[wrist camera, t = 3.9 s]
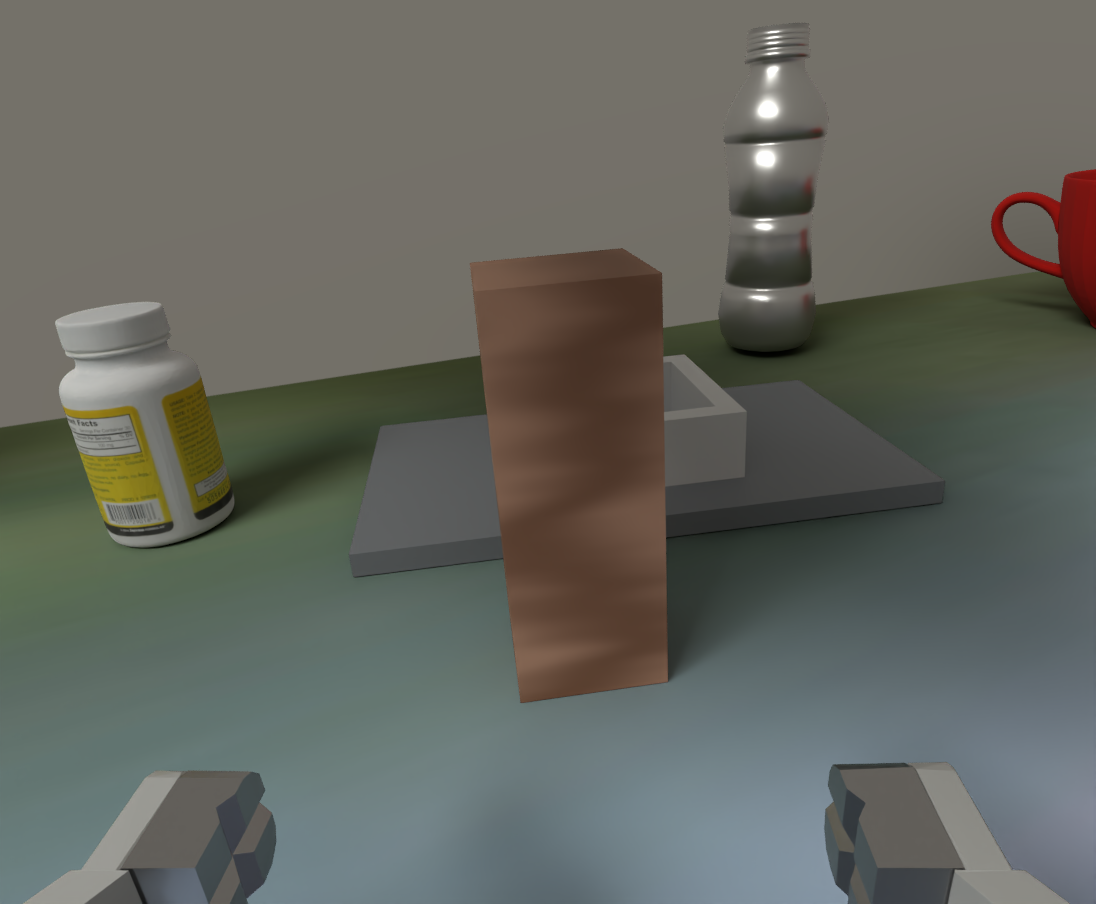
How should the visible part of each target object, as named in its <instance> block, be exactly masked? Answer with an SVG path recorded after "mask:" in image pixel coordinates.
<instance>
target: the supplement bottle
mask: <svg viewBox="0 0 1096 904" xmlns="http://www.w3.org/2000/svg"><path fill="white" fill-rule="evenodd" d="M55 324H56V328H57V331H58V334H59V337H60V341H61V344H62V347H63V349H64V350H66V352H65V354H66V355H67V356H68V357H71V358H74V360H75V364H76V367H75V369H73V370H71V371H70V372H69V373H67V374H66V375H65V377H64V378H63V379H62V381H61V383H60V386H59V395H60V399H61V402H62V405H63V408H64V411H65V414H66V417H67V419H68V422H69V425H70V428H71V431H72V433H73V436H74V439H75V442H76V445H77V447H78V450H79V453H80V456H81V459H82V462H83V464H84V467H85V470H86V473H87V475H88V478H89V481H90V484H91V487H92V489H93V492H94V495H95V498H96V501H97V503H98V506H99V509H100V512H101V515H102V517H103V520H104V523H105V525H106V528H107V530H108V532H109V534H110V536H111V537H112V538H113V540H115V541H116V542H117V543H119V544H122V545H125V546H129V547H141V548H144V547H157V546H163V545H167V544H172V543H175V542H179V541H182V540H185V539H188V538H191V537H194V536H196V535H199V534H201V533H203V532H205V531H207V530H209V529H211V528H213V527H215V526H216V525H218V524H219V523H221V522H222V521H223V520H224V519H226V518H227V517H228V516H229V514H230V513H231V511H232V510H233V507H234V495H233V491H232V487H231V483H230V480H229V476H228V473H227V469H226V466H225V463H224V459H223V456H222V452H221V448H220V445H219V441H218V437H217V434H216V430H215V426H214V423H213V419H212V415H211V412H210V408H209V405H208V402H207V398H206V394H205V390H204V386H203V383H202V379H201V376H200V373H199V370H198V367H197V365H196V363H195V362H194V361H193V360H192V359H191V358H190V357H189V356H187V355H186V354H183V353H181V352H178V351H174V350H170V349H169V347H168V345H167V340H168V339H169V338H170V336H171V334H170V333H169V331H170V327H169V324H168V321H167V318H166V315H165V312H164V308H163V306H162V305H161V304H160V303H156V302H135V303H125V304H118V305H111V306H104V307H98V308H93V309H89V310H84V311H80V312H76V313H72V314H69V315H66V316H64V317H61V318H59V319H58V320H57V321H56V323H55Z"/></svg>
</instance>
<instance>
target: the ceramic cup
mask: <svg viewBox="0 0 1096 904" xmlns="http://www.w3.org/2000/svg"><path fill="white" fill-rule="evenodd" d="M1017 203H1033V204H1036V205H1038V206H1040V207H1042V208H1043V209H1044V210H1046V211H1047V212H1048V214H1049V215H1050V216H1051V218H1052V220H1053V222H1054V225H1055V229H1056V232H1057V234H1058V250H1059V261H1060V264H1056V263H1052V262H1048V261H1044V260H1041V259H1039V258H1036V257H1034V256H1031V255H1029V254H1027V253H1025V252H1023V251H1021V250H1020V249H1018V248H1017V247H1016V246H1014V245H1013V244H1012V243H1011V241H1010V240H1009V239H1008V237H1007V236H1006V234H1005V232H1004V229H1003V224H1002V222H1003V215H1004V213H1005V212H1006V210H1007V209H1008V208H1009V207H1010V206H1012V205H1014V204H1017ZM991 228H992V233H993V236H994V239H995V241H996V242H997V244H998V246H999V247H1000V248H1001V249H1002V251H1003V252H1004V253H1006V254H1007V255H1008V256H1009V257H1011V258H1012V259H1014V260H1015V261H1017V262H1019V263H1021V264H1023V265H1025V266H1028V267H1030V268H1033V269H1035V270H1038V271H1041V272H1044V273H1047V274H1050V275H1053V276H1056V277H1059V278H1062V279H1064V282H1065V284H1066V286H1067V289H1068V291H1069V293H1070V294H1071V296H1072V298H1073V299H1074V301H1075V302H1076V304H1077V305H1078V307H1079V308H1080V309H1081V310H1082V312H1083V313H1084V314H1085V315H1086V316H1087V317H1088V318H1089V320H1090V322H1091V325H1092V326H1093V327H1095V328H1096V169H1095V170H1086V171H1079V172H1074V173H1070V174H1067V175H1065V177H1064V182H1063V188H1062V196H1061V203H1060V202H1058V201H1056V200H1054V199H1052V198H1050V197H1048V196H1045V195H1043V194H1039V193H1034V192H1022V193H1017V194H1013V195H1011V196H1009V197H1007V198H1006V199H1004V200H1003V201H1002V202H1001V203H1000V204H999V205H998V206H997V208H996V209H995V211H994V213H993V216H992V221H991Z"/></svg>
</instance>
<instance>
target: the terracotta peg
mask: <svg viewBox="0 0 1096 904" xmlns="http://www.w3.org/2000/svg"><path fill="white" fill-rule="evenodd" d="M470 267H471V277H472V286H473V295H474V304H475V313H476V321H477V330H478V339H479V347H480V357H481V365H482V374H483V383H484V392H485V401H486V409H487V418H488V427H489V436H490V445H491V453H492V462H493V471H494V480H495V489H496V497H497V506H498V515H499V524H500V533H501V542H502V550H503V559H504V568H505V577H506V586H507V594H508V603H509V612H510V620H511V628H512V636H513V645H514V653H515V661H516V669H517V677H518V685H519V693H520V701H521V703H524V702H531V701H538V700H545V699H552V698H559V697H566V696H573V695H580V694H587V693H594V692H601V691H608V690H615V689H622V688H629V687H636V686H643V685H650V684H657V683H664V682H668V651H667V581H666V512H665V442H664V373H663V309H662V307H663V304H662V273H661V272H659V271H658V270H656V269H655V268H653V267H651V266H650V265H648V264H647V263H645V262H643V261H642V260H640V259H638V258H637V257H636V256H634V255H632V254H631V253H629V252H628V251H626V250H624V249H622V248H621V249H610V250H600V251H589V252H578V253H569V254H557V255H547V256H536V257H527V258H515V259H505V260H494V261H483V262H473V263H470Z"/></svg>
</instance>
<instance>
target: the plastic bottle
mask: <svg viewBox="0 0 1096 904" xmlns="http://www.w3.org/2000/svg"><path fill="white" fill-rule="evenodd" d="M809 31H810V28H809V23H789V24H779V25H771V26H765V27H759V28H755V29H751V30H749V31H748V35H747V56H745V64H749V65H750V71H749V76H748V78H747V79H746V81H745V82H744V84H743V86H742V87H741V89H740V90H739V92H738V93H737V95H736V97H735V98H734V100H733V103H732V104H731V106H730V108H729V110H728V112H727V115H726V119H725V123H724V126H723V132H724V142H725V155H726V165H727V175H728V184H729V210H730V211H731V218H730V237H729V246H728V256H727V265H726V275H725V280H726V281H725V283H724V284H723V288H722V292H721V298H720V305H719V312H718V315H719V322H720V329H721V334H722V335H723V337H724V338H725V340H726V342H727V343H728V344H729V345H730V346H732V347H735V348H739V349H743V350H749V351H760V352H771V351H783V350H789V349H793V348H797V347H799V346H801V345H802V344H803V343H804V342H805V341H806V339H807V338H808V337H809V335H810V334H811V331H812V327H813V323H814V319H815V315H816V306H815V292H814V286H813V282H812V281H811V278H812V252H811V251H812V246H811V228H812V220H813V215H812V209H813V207H814V203H815V194H816V185H817V179H818V174H819V170H820V164H821V160H822V155H823V149H824V145H825V135H826V134H827V129H828V122H829V117H828V112H827V107H826V103H825V101H824V99H823V98H822V96H821V94H820V92H819V90H818V88H817V87H816V85H815V84H814V82H813V81H812V79H811V78H810V77H809V75H808V73H807V72H806V70H805V59H806V58H810V49H809Z"/></svg>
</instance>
